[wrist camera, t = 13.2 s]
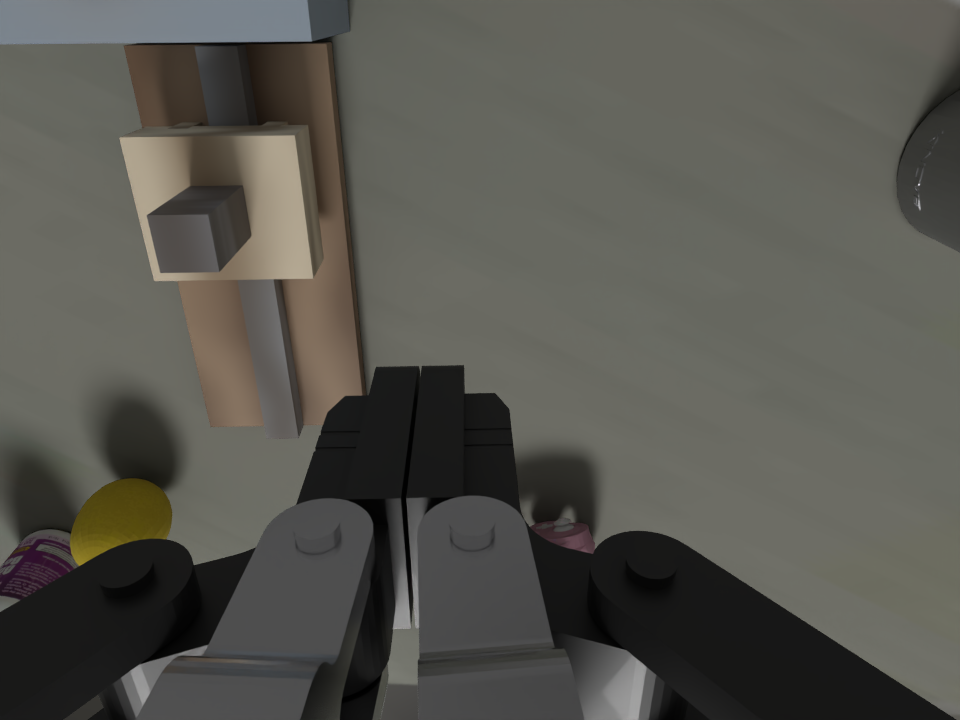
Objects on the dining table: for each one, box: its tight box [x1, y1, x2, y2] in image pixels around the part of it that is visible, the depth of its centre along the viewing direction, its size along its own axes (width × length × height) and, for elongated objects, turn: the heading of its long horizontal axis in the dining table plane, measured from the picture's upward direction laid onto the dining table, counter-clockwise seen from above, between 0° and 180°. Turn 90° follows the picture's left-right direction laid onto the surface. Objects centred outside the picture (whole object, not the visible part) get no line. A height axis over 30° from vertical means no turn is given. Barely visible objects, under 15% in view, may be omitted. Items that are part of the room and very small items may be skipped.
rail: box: [124, 42, 366, 439], centre depth 39 cm, size 10×22×3 cm, turn 0°
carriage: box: [119, 121, 324, 281], centre depth 33 cm, size 8×7×9 cm
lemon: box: [70, 478, 172, 566], centre depth 45 cm, size 6×6×8 cm
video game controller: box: [530, 518, 595, 554], centre depth 49 cm, size 10×5×7 cm, turn 103°
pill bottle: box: [0, 529, 79, 612], centre depth 47 cm, size 5×5×10 cm
